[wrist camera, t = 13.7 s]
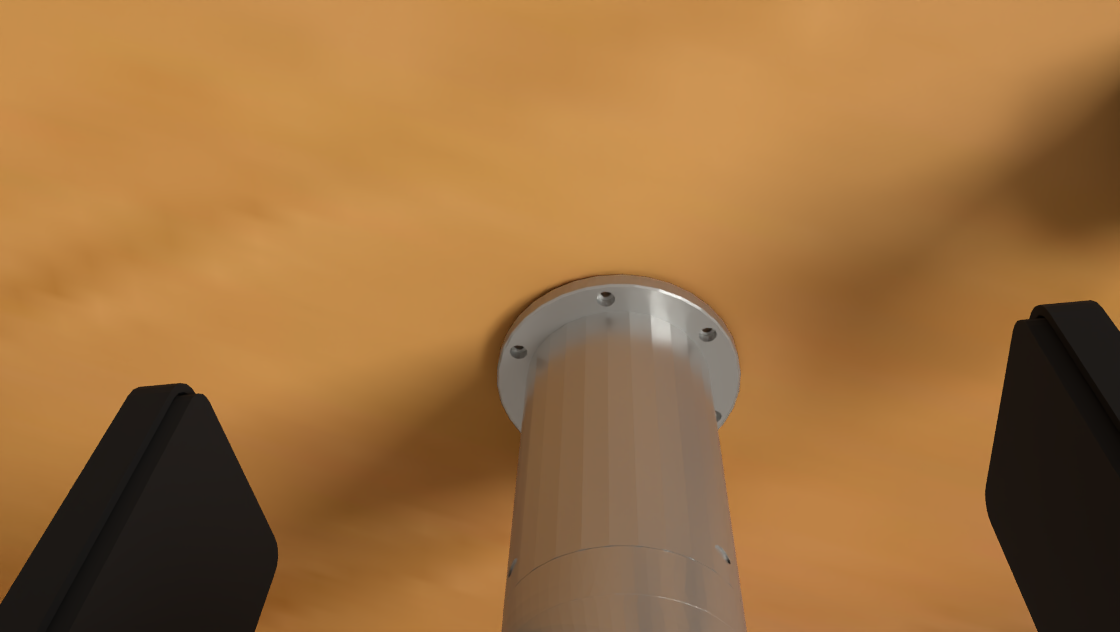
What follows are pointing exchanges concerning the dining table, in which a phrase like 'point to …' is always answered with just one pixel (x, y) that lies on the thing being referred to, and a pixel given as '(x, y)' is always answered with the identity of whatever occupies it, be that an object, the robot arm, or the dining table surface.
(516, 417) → the robot arm
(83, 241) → the dining table surface
